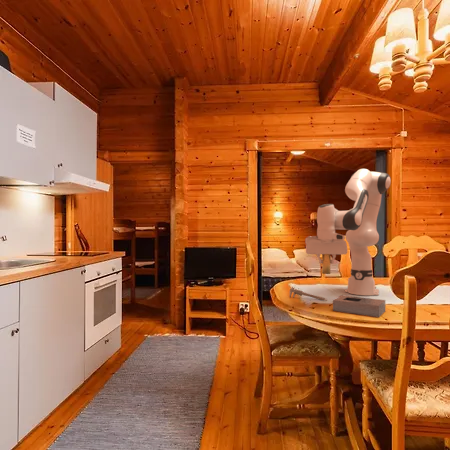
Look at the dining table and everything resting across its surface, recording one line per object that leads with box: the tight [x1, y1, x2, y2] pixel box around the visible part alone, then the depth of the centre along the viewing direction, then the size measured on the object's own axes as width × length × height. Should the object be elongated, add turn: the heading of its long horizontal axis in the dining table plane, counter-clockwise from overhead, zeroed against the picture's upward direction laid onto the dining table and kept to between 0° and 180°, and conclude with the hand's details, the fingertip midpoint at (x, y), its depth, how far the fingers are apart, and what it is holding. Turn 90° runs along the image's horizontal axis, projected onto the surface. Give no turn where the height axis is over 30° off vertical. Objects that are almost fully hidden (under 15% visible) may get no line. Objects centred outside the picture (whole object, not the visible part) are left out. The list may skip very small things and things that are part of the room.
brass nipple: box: [321, 254, 331, 275], centre depth 174 cm, size 4×4×10 cm
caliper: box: [289, 286, 328, 301], centre depth 187 cm, size 20×1×6 cm, turn 64°
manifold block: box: [332, 294, 386, 318], centre depth 160 cm, size 14×20×5 cm
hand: (326, 263), depth 174 cm, fingers closed on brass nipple, 4 cm apart
